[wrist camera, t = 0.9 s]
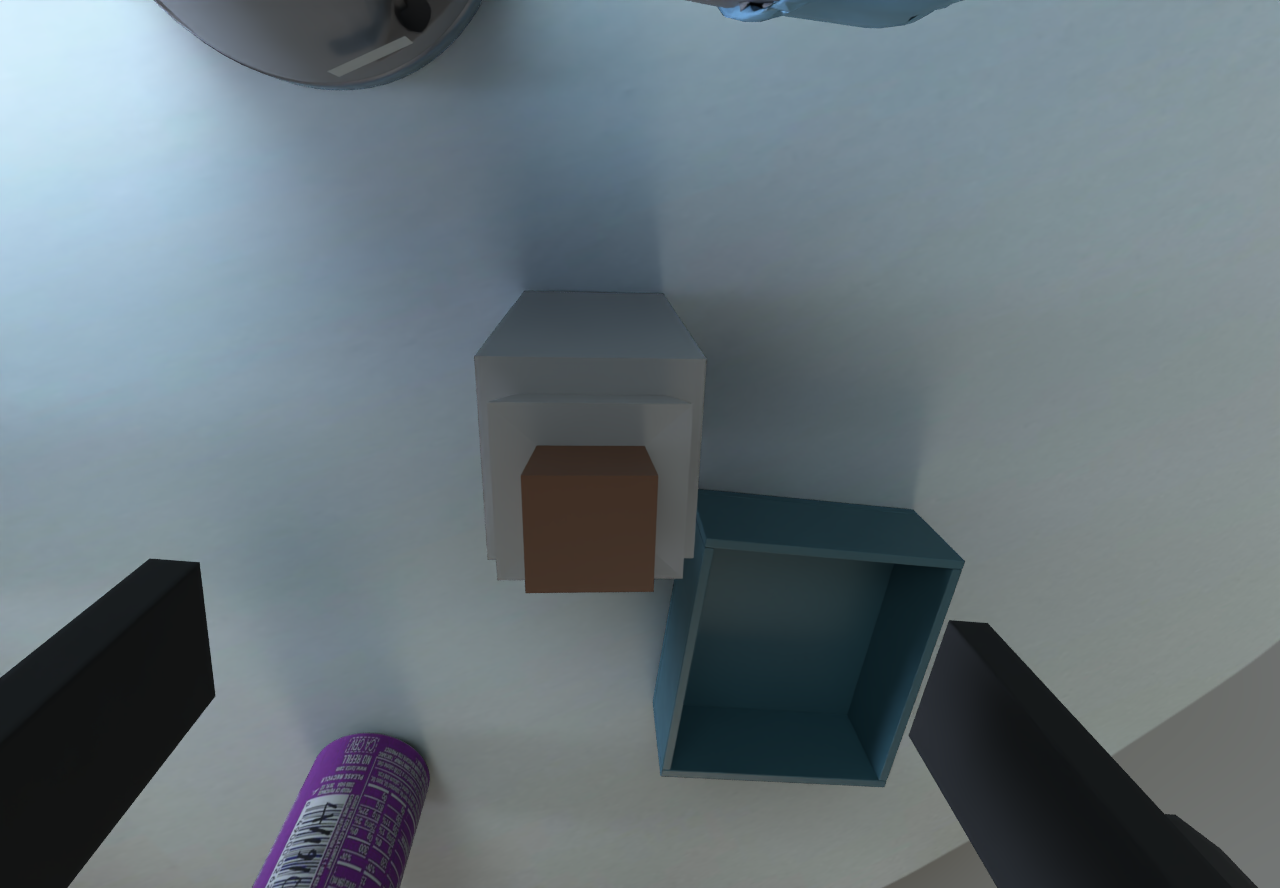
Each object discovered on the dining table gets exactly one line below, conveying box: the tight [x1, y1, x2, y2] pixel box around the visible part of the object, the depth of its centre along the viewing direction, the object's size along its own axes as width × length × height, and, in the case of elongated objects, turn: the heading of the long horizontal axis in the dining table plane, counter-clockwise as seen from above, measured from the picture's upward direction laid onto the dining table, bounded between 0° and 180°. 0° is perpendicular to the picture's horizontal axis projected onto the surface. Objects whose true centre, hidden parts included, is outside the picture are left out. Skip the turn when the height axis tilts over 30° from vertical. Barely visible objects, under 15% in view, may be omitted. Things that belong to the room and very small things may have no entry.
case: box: [653, 489, 965, 787], centre depth 36 cm, size 15×13×6 cm
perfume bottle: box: [474, 291, 707, 593], centre depth 24 cm, size 7×7×18 cm
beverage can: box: [252, 733, 430, 888], centre depth 36 cm, size 7×7×12 cm
